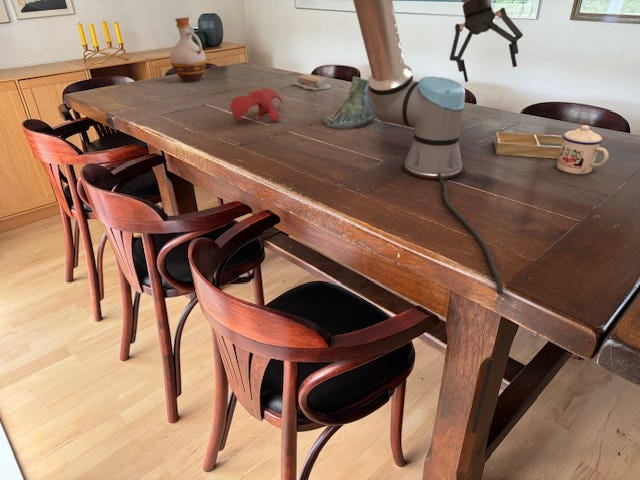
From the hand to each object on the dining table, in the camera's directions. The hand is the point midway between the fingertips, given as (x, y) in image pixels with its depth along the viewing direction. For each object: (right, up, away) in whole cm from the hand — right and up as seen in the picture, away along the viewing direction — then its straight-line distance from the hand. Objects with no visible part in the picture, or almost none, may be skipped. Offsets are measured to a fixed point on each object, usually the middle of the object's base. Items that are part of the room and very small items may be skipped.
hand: (490, 74), depth 133 cm
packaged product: (-54, +25, +86) cm, 105 cm away
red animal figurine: (-71, -4, +37) cm, 80 cm away
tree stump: (-39, -5, +33) cm, 52 cm away
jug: (-117, +35, +104) cm, 161 cm away
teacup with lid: (+19, -30, -12) cm, 38 cm away
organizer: (+14, -22, +2) cm, 26 cm away
